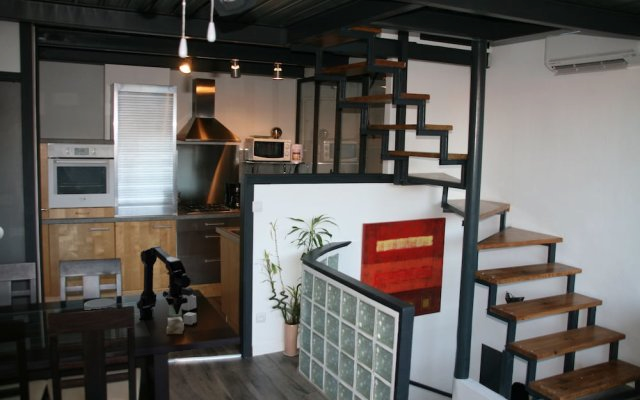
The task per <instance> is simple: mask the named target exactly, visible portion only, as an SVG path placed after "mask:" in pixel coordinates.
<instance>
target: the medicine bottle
mask: <svg viewBox="0 0 640 400" xmlns="http://www.w3.org/2000/svg"><path fill="white" fill-rule="evenodd" d="M187 288H188V289H190V290H191V293H190V296H188V295H183V296H184V297H186V298H187V299H188V303H184V304H182V305H181V306H182V310H183V311H188V312H189V311H190V310H194V309H196V308H197V296H196V295H194V289H193V288H191V287H187Z"/></svg>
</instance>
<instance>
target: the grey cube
mask: <svg viewBox="0 0 640 400" xmlns="http://www.w3.org/2000/svg"><path fill="white" fill-rule="evenodd" d="M183 323H184V325H193V323H194V324H195V323H197V312H190V311H188V312H186V313H185V314H183Z"/></svg>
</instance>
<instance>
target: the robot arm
mask: <svg viewBox="0 0 640 400" xmlns="http://www.w3.org/2000/svg"><path fill="white" fill-rule="evenodd" d="M157 258H158V259H157ZM157 260H160V261H161V262H162V263H163V264H164V265H165V266H164V267H165V268H166V270H167V273H166V274H167V275H168V285H167V288H168V290H167V289H166V290H164V291H162V297H163V298H164V299H165V301H166V302H167V305H168V306H169V305H171V304H173V307H174V310H175V313H176V314H178V313H179V310H180V307H181V305H182V304H184V303H188V299H187V298H186V297H184V296H183V295H188V296H190V293H191V290H190V289H188V288H189V286H190V285H191V282H192V281H191V279H190V277H188V274H187V272H186V268H185V266H184V264H183V261H181V259H179V258H177V257H174V256H171V255H170V254H169V253H167V252H166V251H165V250H164V249H163V248H162V246H161V245H157V246H156V245H155V246H152V247H150V248H147V249H146V250H145V249H144V250H142V251H141V252H140V261H141V262H142V264H143V291H142V292H141V294H140V297H139V301H138V302H137V303H136V307H137V309H138V310H139V318H138V320H141V321H142V320H144V321H145V320H146V321H148V320H149V321H151V320H152V319H153V318H154V317H155V314H154V311H155V310H154V309H153V308H154V307H156V304H157V294H156V293H155V291H154V266H155V264H156V262H157Z"/></svg>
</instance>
